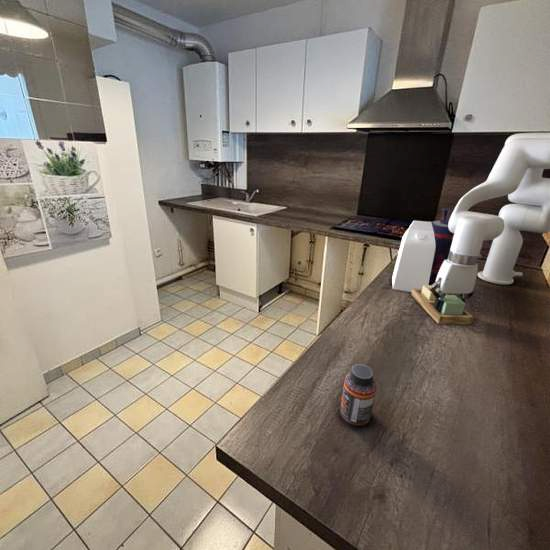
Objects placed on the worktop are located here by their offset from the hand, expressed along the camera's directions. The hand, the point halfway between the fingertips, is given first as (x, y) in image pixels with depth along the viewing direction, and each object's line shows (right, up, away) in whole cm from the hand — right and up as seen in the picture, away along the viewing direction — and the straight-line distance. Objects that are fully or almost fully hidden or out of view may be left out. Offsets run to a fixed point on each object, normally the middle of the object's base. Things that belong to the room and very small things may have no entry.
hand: (447, 309), depth 95 cm
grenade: (+11, +9, +27) cm, 31 cm away
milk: (-3, +7, +22) cm, 23 cm away
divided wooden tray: (0, 0, +5) cm, 5 cm away
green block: (0, -1, 0) cm, 1 cm away
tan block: (0, +2, +9) cm, 10 cm away
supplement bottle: (-40, -17, -36) cm, 57 cm away
